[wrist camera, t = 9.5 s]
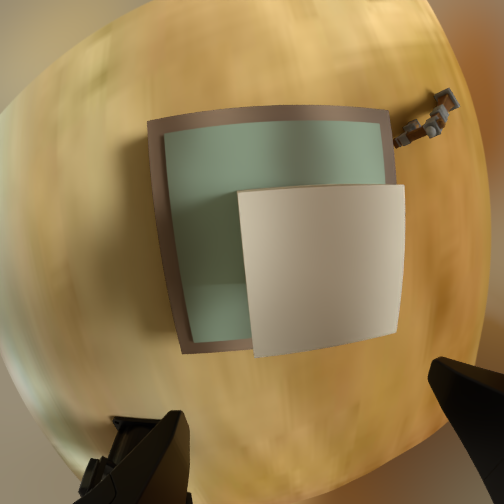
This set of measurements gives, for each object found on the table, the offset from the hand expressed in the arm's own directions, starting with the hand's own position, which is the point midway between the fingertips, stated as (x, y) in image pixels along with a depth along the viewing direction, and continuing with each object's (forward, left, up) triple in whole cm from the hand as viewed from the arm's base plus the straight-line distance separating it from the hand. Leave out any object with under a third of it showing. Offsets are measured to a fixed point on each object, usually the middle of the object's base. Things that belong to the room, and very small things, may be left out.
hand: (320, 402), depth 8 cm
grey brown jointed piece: (+13, +12, -12) cm, 21 cm away
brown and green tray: (+1, +4, -11) cm, 12 cm away
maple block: (+1, +4, -8) cm, 9 cm away
